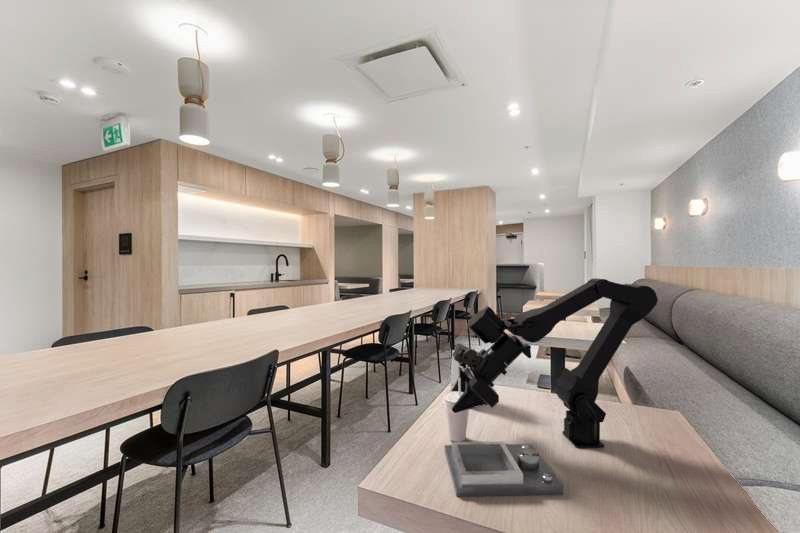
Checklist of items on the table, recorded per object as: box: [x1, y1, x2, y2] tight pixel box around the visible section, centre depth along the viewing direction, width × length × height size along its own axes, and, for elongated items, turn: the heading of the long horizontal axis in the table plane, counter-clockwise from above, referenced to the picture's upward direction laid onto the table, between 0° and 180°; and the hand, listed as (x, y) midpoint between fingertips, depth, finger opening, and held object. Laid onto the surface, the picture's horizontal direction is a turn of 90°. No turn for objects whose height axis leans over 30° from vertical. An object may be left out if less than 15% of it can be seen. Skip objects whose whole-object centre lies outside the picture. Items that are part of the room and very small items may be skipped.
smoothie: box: [442, 378, 470, 442], centre depth 80 cm, size 6×6×14 cm
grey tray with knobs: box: [444, 441, 564, 497], centre depth 68 cm, size 19×14×4 cm
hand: (451, 404), depth 80 cm, fingers closed on smoothie, 6 cm apart
